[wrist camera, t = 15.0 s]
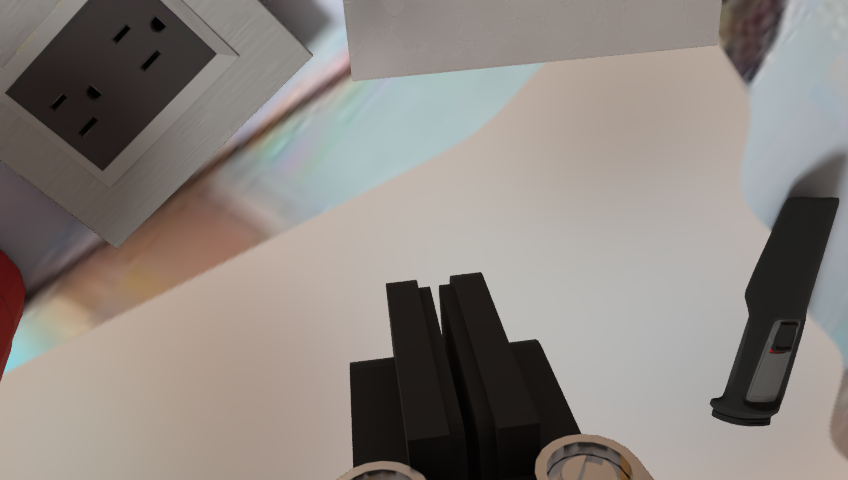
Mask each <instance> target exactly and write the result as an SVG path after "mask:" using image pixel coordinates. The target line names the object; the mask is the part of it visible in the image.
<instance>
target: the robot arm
mask: <svg viewBox="0 0 848 480" xmlns="http://www.w3.org/2000/svg"><path fill="white" fill-rule="evenodd" d="M386 291H387V300H388V309H389V318H390V327H391V336H392V346H393V354H394V357H391V358H383V359H375V360H368V361H359V362H352V363H350V388H351V417H352V444H353V469H351V470H349V471H348V472H346V473H345V474H344V475H342V476H340V477H339V478H338V479H337V480H654V479H653V477H652V476H651V475H650V474H649V472H648V471H647V470H646V468H645V467H644V466H643V464H642V463H641V462H640V461H639V459H638V458H637V457H636V456H635V455H634V454H633V453H632V452H631V451H630V450H629V449H628V448H626V447H625V446H623V445H621V444H619V443H617V442H616V441H614V440H611V439H607V438H604V437H601V436H598V435H586V434H581V432H580V430H579V428H578V425H577V423H576V421H575V419H574V417H573V414H572V412H571V410H570V408H569V406H568V403H567V401H566V399H565V397H564V395H563V393H562V390H561V388H560V386H559V384H558V382H557V379H556V377H555V375H554V373H553V371H552V368H551V366H550V364H549V362H548V360H547V357H546V356H545V353H544V351H543V349H542V347H541V345H540V343H539V341H538V340H536V339H534V340H526V341H518V342H510V343H509V341H508V339H507V336H506V334H505V331H504V329H503V326H502V323H501V321H500V318H499V316H498V313H497V311H496V308H495V305H494V303H493V300H492V298H491V295H490V292H489V290H488V287H487V285H486V282H485V280H484V277H483V275H482V273H481V272H479V273H471V274H462V275H454V276H450V284H448V285H439V298H440V311H441V326H442V334H441V330H440V326H439V322H438V318H437V314H436V310H435V306H434V301H433V297H432V293H431V289H430V287H422V288H418V284H417V281H416V280H411V281H403V282H395V283H386Z"/></svg>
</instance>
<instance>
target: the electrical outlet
mask: <svg viewBox="0 0 848 480" xmlns="http://www.w3.org/2000/svg"><path fill="white" fill-rule="evenodd" d="M312 56H313V54H312V53H311V52H310V51H309V50H308V49H307V48H306V47H305V46H304V45H303V44H302V43H301V42H300V41H299V40H298V39H297V38H296V37H295V36H294V35H293V34H292V33H291V32H290V31H289V30H288V29H287V28H286V27H285V26H284V25H283V24H282V23H281V22H280V21H279V20H278V19H277V18H276V17H275V16H274V15H273V13H272V12H271V11H270V10H269V9H268V8H267V7H266V6H265V5H264V4H263V3H262V2H261V1H260V0H0V161H2V162H3V163H4V164H6V165H7V166H8V167H10V168H11V169H12V170H13V171H15V172H16V173H17V174H19V175H20V176H21V177H23V178H24V179H25V180H27V181H28V182H29V183H31V184H32V185H33V186H35V187H36V188H37V189H39V190H40V191H41V192H43V193H44V194H45V195H46V196H48V197H49V198H50V199H52V200H53V201H54V202H56V203H57V204H58V205H60V206H61V207H62V208H64V209H65V210H66V211H68V212H69V213H70V214H72V215H73V216H74V217H76V218H77V219H78V220H80V221H81V222H82V223H83V224H85V225H86V226H87V227H89V228H90V229H91V230H93V231H94V232H95V233H97V234H98V235H99V236H101V237H102V238H103V239H105V240H106V241H107V242H109V243H110V244H111V245H113V246H114V247H115V248H116V249H117V248H118V247H119V246H120V245H121V244H122V243H123V242H124V241H125V240H126V239H127V238H128V237H129V236H130V235H131V234H132V233H133V232H134V231H135V230H136V229H137V228H138V227H139V226H140V225H141V224H142V223H143V222H144V221H145V220H146V219H148V218H149V217H150V216H151V215H152V214H153V213H154V212H155V211H156V210H157V209H158V208H159V207H160V206H161V205H162V204H163V203H164V202H165V201H166V200H167V199H168V198H169V197H170V196H171V195H172V194H173V193H174V192H175V191H176V190H177V189H178V188H179V187H180V186H181V185H182V184H183V183H184V182H185V181H186V180H187V179H188V178H189V177H190V176H191V175H192V174H193V173H194V172H195V171H196V170H197V169H198V168H199V167H200V166H201V165H202V164H203V163H204V162H205V161H207V160H208V159H209V158H210V157H211V156H212V155H213V154H214V153H215V152H216V151H217V150H218V149H219V148H220V147H221V146H222V145H223V144H224V143H225V142H226V141H227V140H228V139H229V138H230V137H231V136H232V135H233V134H234V133H235V132H236V131H237V130H238V129H239V128H240V127H241V126H242V125H243V124H244V123H245V122H246V121H247V120H248V119H249V118H250V117H251V116H252V115H253V114H254V113H255V112H256V111H257V110H258V109H259V108H260V107H261V106H262V105H263V104H264V103H266V102H267V101H268V100H269V99H270V98H271V97H272V96H273V95H274V94H275V93H276V92H277V91H278V90H279V89H280V88H281V87H282V86H283V85H284V84H285V83H286V82H287V81H288V80H289V79H290V78H291V77H292V76H293V75H294V74H295V73H296V72H297V71H298V70H299V69H300V68H301V67H302V66H303V65H304V64H305V63H306V62H307V61H308V60H309V59H310V58H311V57H312Z"/></svg>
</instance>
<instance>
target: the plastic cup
mask: <svg viewBox="0 0 848 480" xmlns="http://www.w3.org/2000/svg"><path fill="white" fill-rule="evenodd" d="M24 299H25V286H24V283H23V280H22V277H21V274H20V271H19V269H18V268H17V267H16V266H15V265H14V263H13V262H12V261H11V260H10V259H9V258H8V256H7V255H6V254H5V253H4V252H3V251H1V250H0V381H1V378H2V375H3V372H4V369H5V366H6V363H7V360H8V357H9V355H10V352H11V347H12V340H13V337H14V335H15V332H16V330H17V327H18V325H19V322H20V319H21V317H22V312H23V305H24Z"/></svg>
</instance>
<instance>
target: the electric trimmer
mask: <svg viewBox="0 0 848 480" xmlns="http://www.w3.org/2000/svg"><path fill="white" fill-rule="evenodd" d="M838 205H839V198H833V197H829V198H811V197H791V198H789V199H787V201H786V203H785V204H784V206H783V208H782V211H781V213H780V215H779V217H778V219H777V221H776V224H775V226H774V228H773V230H772V232H771V235H770V237H769V239H768V241H767V243H766V245H765V248H764V250H763V252H762V254H761V256H760V258H759V261H758V263H757V265H756V267H755V270H754V272H753V274H752V277H751V279H750V282H749V284H748V286H747V289H746V292H745V300H746V304H747V307H748V312H749V318H748V321H747V324H746V327H745V330H744V333H743V337H742V340H741V343H740V346H739V349H738V352H737V355H736V358H735V361H734V365H733V367H732V370H731V373H730V376H729V380H728V383H727V386H726V389H725V392H724V394H723V396H721V397H719V398H713V399H711V402H710V405H711V406H712V407H713V408H714V409H713V410H712V416H713V417H715V418H717V419H720V420H722V421H725V422H728V423H732V424H736V425H742V426H766V425H770V419H771V416H773V415H774V414H776V413H778V411H779V409H780V405H781V402H782V400H783V397H784V394H785V391H786V387H787V384H788V381H789V377H790V374H791V370H792V367H793V364H794V360H795V357H796V353H797V350H798V346H799V343H800V340H801V336H802V332H803V329H804V325H805V321H806V313H807V307H808V304H809V301H810V298H811V294H812V291H813V288H814V284H815V281H816V278H817V274H818V271H819V268H820V264H821V261H822V258H823V255H824V251H825V248H826V245H827V241H828V238H829V235H830V231H831V228H832V225H833V221H834V218H835V215H836V212H837V208H838Z"/></svg>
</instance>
